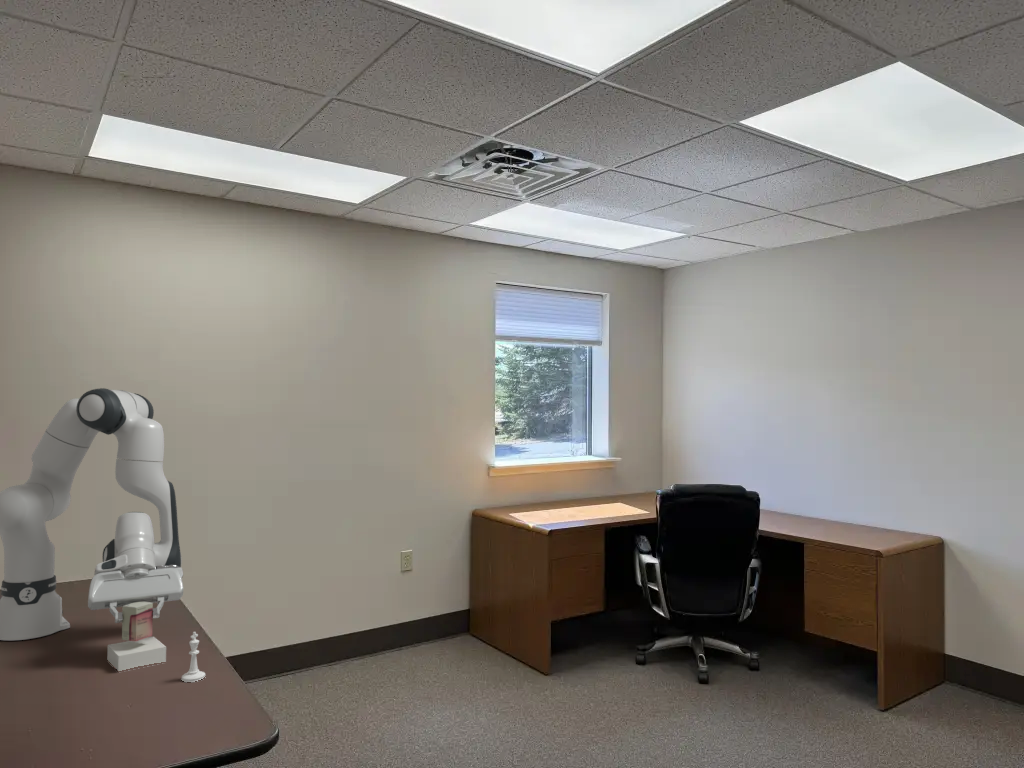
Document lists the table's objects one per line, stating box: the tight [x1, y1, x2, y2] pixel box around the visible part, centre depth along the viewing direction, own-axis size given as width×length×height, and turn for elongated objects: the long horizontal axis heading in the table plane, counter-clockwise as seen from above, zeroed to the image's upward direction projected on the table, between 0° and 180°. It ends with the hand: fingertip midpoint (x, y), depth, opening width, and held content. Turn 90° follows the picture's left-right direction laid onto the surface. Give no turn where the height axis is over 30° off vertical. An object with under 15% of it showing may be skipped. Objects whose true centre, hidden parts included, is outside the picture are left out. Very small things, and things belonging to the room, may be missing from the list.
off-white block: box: [106, 635, 167, 671], centre depth 171 cm, size 10×10×4 cm
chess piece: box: [180, 631, 206, 683], centre depth 161 cm, size 5×5×10 cm
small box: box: [121, 601, 154, 642], centre depth 171 cm, size 5×4×8 cm
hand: (137, 619), depth 171 cm, fingers closed on small box, 6 cm apart
